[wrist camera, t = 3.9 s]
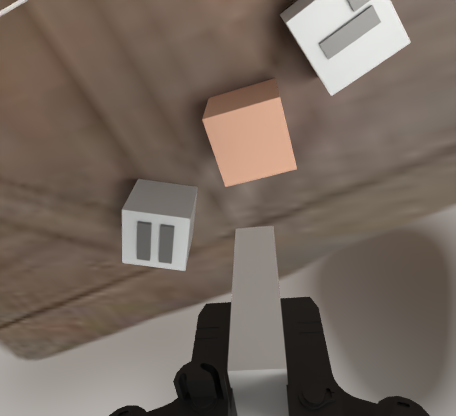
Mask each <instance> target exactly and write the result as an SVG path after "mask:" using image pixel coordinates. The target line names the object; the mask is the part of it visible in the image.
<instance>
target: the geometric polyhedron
mask: <svg viewBox="0 0 456 416" xmlns="http://www.w3.org/2000/svg"><path fill="white" fill-rule="evenodd" d="M26 1H28V0H18V1H17V2H15V3H13V4H11V5H10V6H8V7H6V8H4V9H3V10H1V11H0V17H1V16H2V15H4V14H6V13H8V12H9V11H11V10H13V9H14V8H16V7H18V6H19V5H21V4H23V3H25V2H26Z"/></svg>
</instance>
